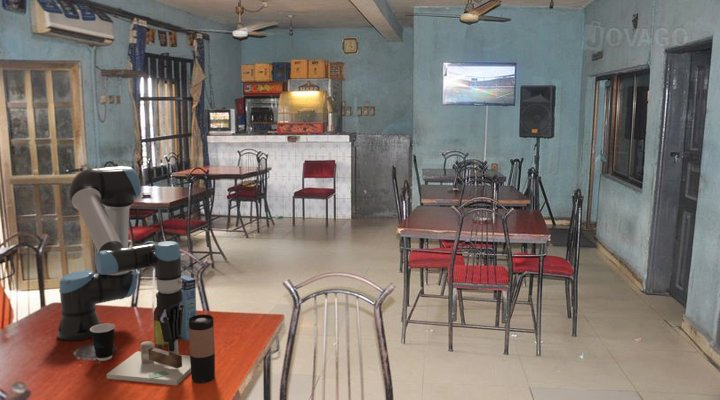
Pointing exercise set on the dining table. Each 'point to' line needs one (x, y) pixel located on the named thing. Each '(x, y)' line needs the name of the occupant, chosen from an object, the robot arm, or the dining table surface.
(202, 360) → the travel mug
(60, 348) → the dining table surface
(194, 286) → the gum box
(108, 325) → the dixie cup
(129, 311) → the dining table surface
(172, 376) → the board
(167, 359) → the grey hammer
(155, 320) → the sauce bottle
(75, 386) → the dining table surface
